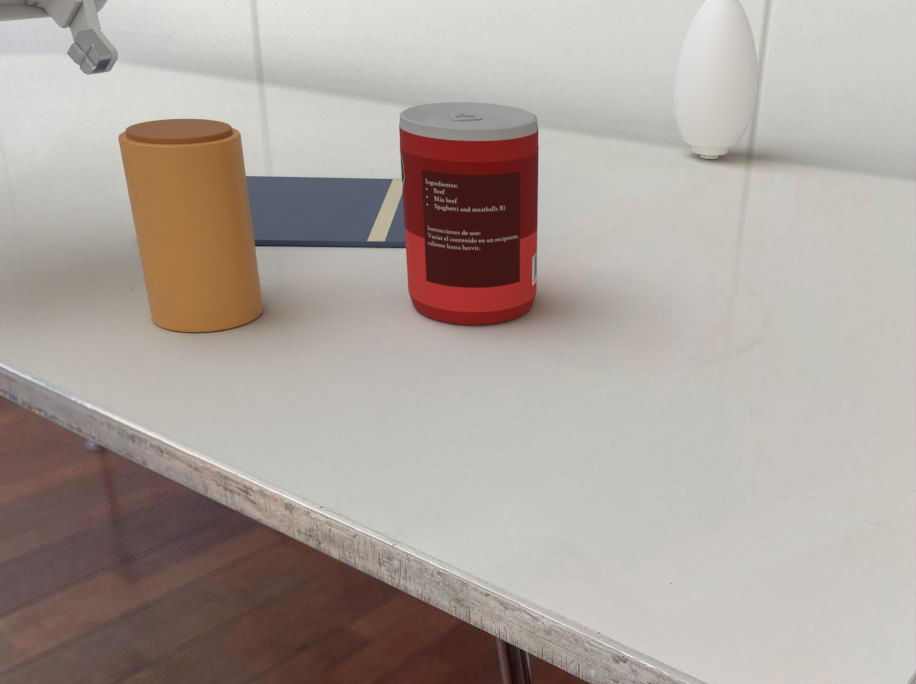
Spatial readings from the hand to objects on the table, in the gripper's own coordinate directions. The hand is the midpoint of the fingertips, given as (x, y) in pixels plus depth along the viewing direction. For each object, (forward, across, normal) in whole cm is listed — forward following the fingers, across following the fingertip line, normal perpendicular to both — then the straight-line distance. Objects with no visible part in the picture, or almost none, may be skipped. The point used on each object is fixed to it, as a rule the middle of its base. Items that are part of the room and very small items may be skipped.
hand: (35, 76), depth 53 cm
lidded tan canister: (+14, +1, +3) cm, 15 cm away
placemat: (+8, +21, +9) cm, 25 cm away
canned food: (+24, +10, -6) cm, 26 cm away
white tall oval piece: (+24, +57, -7) cm, 62 cm away
